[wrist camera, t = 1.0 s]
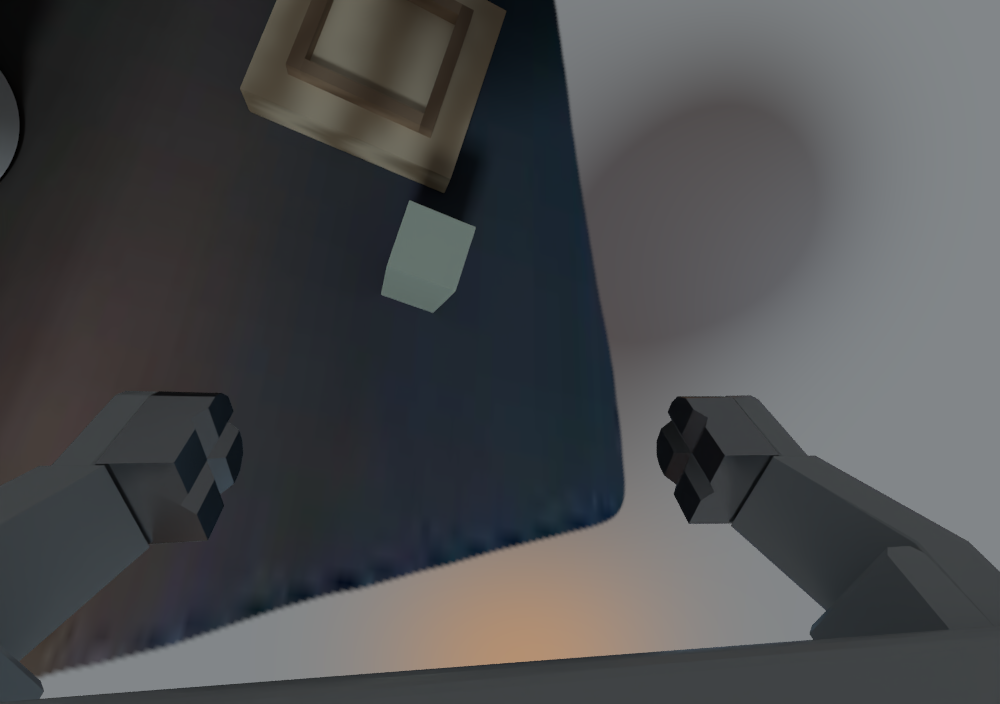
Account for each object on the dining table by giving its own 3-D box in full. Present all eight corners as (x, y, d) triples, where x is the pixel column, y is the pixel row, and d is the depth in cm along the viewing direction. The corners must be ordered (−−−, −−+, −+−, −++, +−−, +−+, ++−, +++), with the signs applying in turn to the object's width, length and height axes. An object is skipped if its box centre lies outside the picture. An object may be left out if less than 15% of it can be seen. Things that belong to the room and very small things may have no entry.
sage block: (380, 294, 38) (386, 266, 28) (398, 244, 39) (409, 200, 29) (432, 312, 39) (455, 291, 30) (448, 263, 40) (475, 227, 30)
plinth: (249, 111, 36) (235, 78, 32) (319, -58, 38) (314, -110, 34) (444, 193, 40) (453, 172, 36) (496, 36, 42) (510, -1, 38)
